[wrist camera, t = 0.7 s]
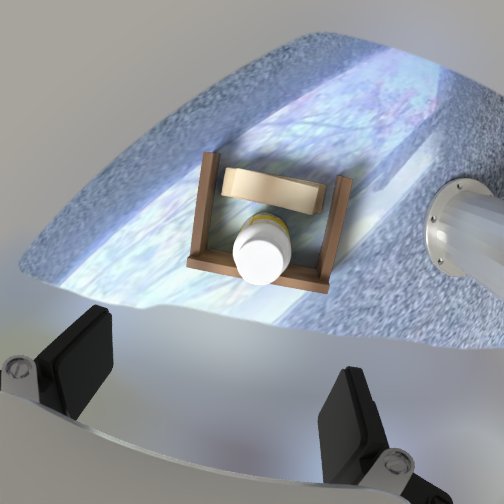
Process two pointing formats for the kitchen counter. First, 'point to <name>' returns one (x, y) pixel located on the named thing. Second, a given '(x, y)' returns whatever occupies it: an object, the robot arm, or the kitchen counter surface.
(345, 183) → the walnut rack
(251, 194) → the top offcut
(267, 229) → the supplement bottle
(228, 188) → the middle offcut
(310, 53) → the kitchen counter surface
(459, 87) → the kitchen counter surface
